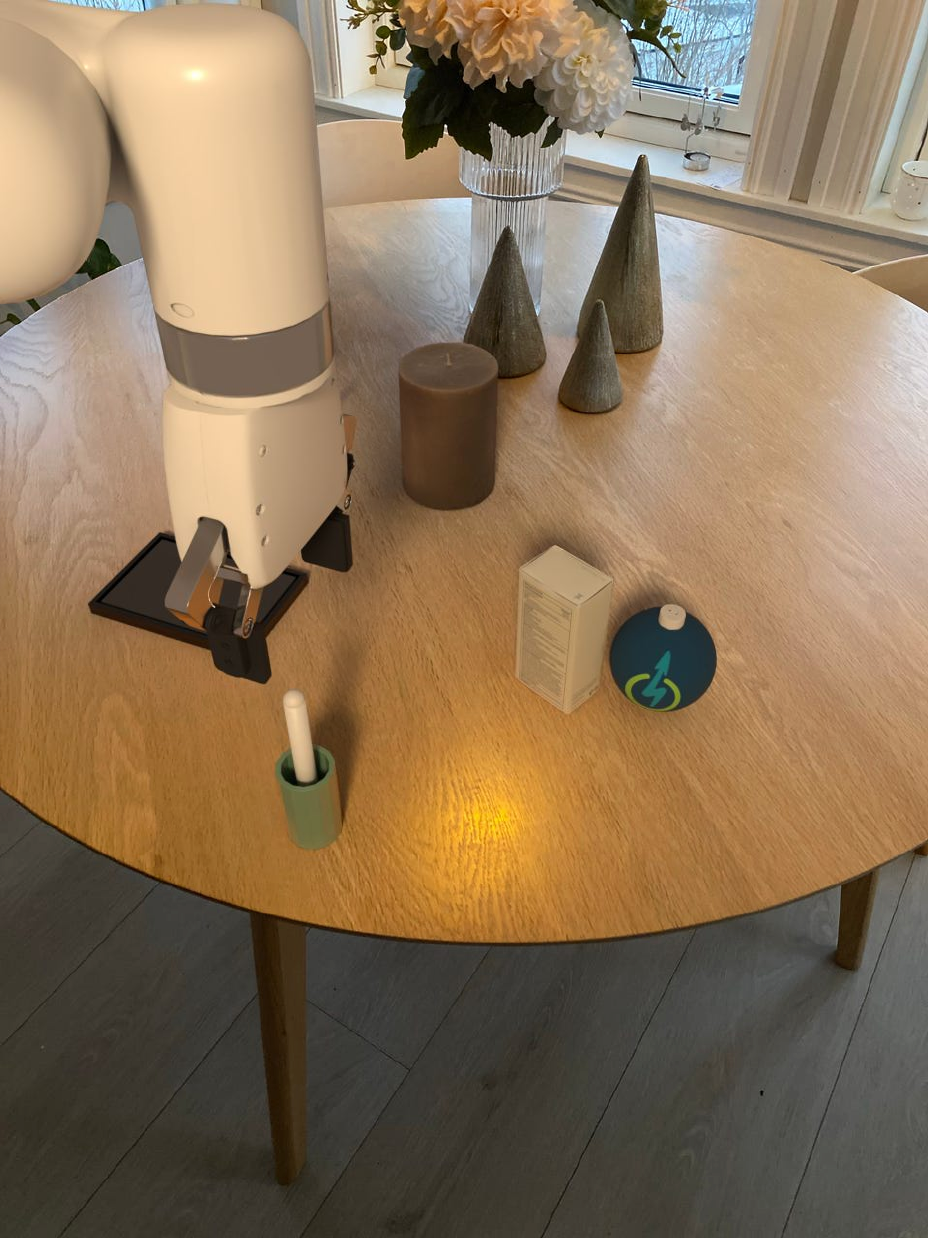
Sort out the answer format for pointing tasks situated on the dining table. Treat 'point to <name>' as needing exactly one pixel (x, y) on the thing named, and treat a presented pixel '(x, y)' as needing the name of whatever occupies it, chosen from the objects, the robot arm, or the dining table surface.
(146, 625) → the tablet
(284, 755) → the pen pot
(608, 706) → the dining table surface
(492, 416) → the pillar candle
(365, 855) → the dining table surface
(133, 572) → the screen
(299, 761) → the stylus
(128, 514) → the dining table surface
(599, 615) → the cosmetic box
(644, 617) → the christmas ornament
